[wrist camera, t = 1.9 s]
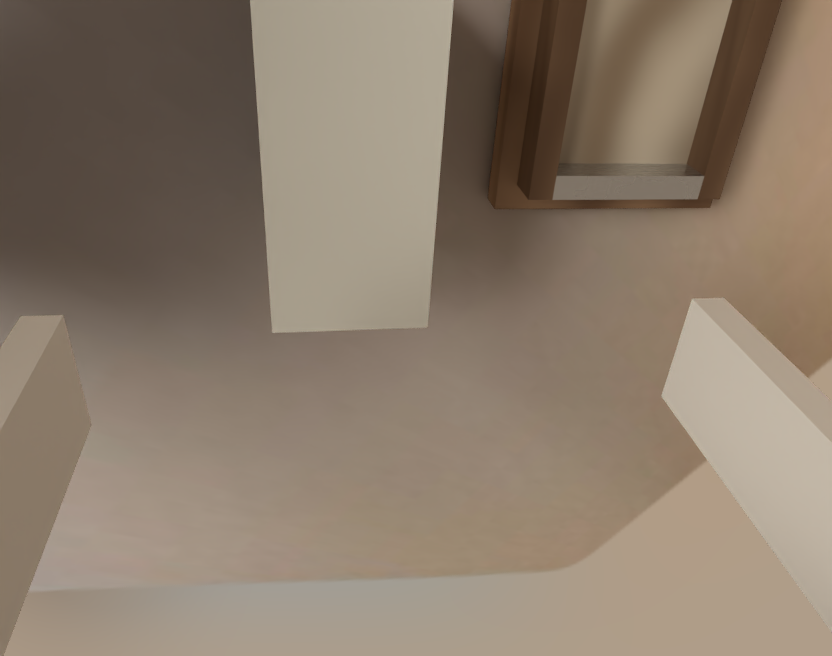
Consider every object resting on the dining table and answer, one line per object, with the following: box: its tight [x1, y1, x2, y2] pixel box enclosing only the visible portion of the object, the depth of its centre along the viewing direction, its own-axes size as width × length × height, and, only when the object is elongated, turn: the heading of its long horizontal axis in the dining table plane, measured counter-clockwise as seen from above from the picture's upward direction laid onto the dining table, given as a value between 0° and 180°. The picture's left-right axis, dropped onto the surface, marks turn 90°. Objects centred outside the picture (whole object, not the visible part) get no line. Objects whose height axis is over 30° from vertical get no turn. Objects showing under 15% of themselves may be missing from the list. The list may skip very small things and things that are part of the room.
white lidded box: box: [250, 0, 454, 333], centre depth 28 cm, size 6×12×11 cm, turn 176°
